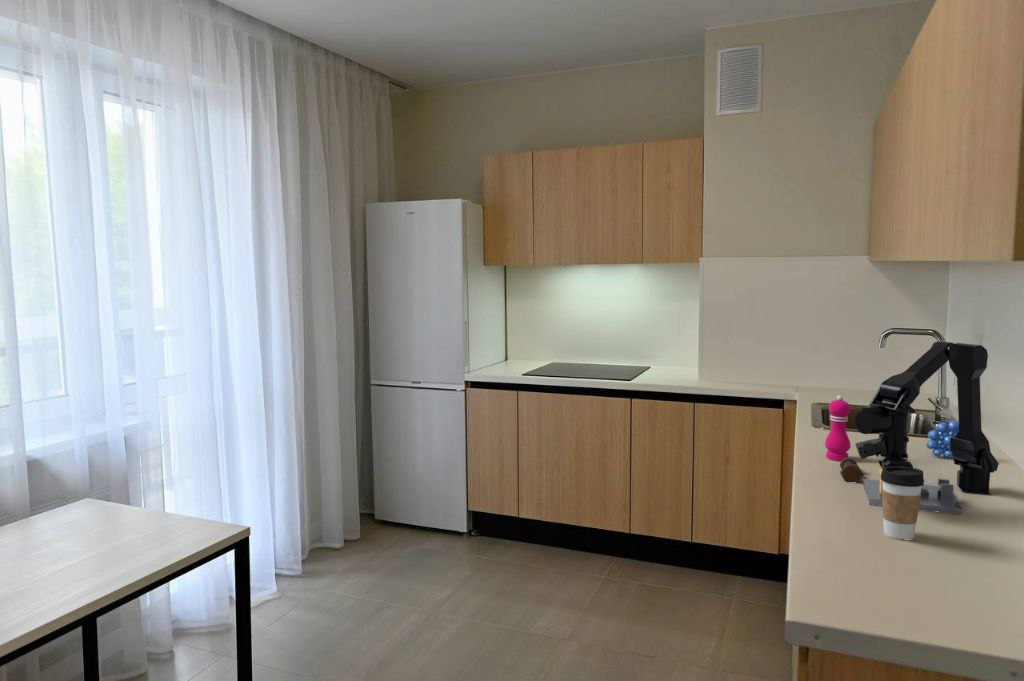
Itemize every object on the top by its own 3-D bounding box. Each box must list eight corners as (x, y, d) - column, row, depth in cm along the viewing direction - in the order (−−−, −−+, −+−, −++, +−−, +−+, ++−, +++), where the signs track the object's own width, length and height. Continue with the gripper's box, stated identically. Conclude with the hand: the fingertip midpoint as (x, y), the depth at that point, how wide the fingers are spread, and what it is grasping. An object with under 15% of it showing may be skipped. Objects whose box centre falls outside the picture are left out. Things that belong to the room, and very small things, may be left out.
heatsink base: (946, 492, 184) (948, 474, 184) (962, 515, 168) (963, 494, 167) (862, 484, 192) (863, 466, 191) (869, 504, 175) (870, 485, 174)
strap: (948, 488, 178) (948, 484, 178) (950, 492, 175) (951, 488, 175) (886, 479, 183) (887, 476, 183) (888, 483, 181) (888, 479, 180)
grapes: (966, 456, 219) (968, 419, 218) (970, 462, 213) (973, 423, 212) (923, 453, 224) (926, 416, 223) (926, 458, 218) (929, 420, 217)
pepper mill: (824, 460, 215) (827, 396, 213) (823, 454, 222) (826, 392, 220) (850, 462, 213) (853, 398, 211) (848, 456, 219) (852, 394, 217)
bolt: (849, 475, 207) (854, 488, 193) (834, 465, 208) (837, 477, 194) (861, 459, 205) (866, 471, 191) (845, 449, 207) (849, 460, 193)
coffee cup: (919, 545, 149) (924, 477, 148) (875, 537, 154) (879, 471, 152) (921, 532, 156) (925, 467, 155) (878, 525, 161) (882, 462, 159)
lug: (895, 488, 182) (896, 470, 182) (898, 495, 177) (899, 476, 176) (878, 487, 184) (879, 468, 183) (880, 493, 178) (881, 474, 178)
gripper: (855, 421, 186) (852, 478, 187) (862, 436, 168) (859, 499, 170) (902, 424, 182) (899, 483, 183) (915, 440, 164) (911, 504, 166)
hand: (891, 492), depth 176 cm, fingers closed
